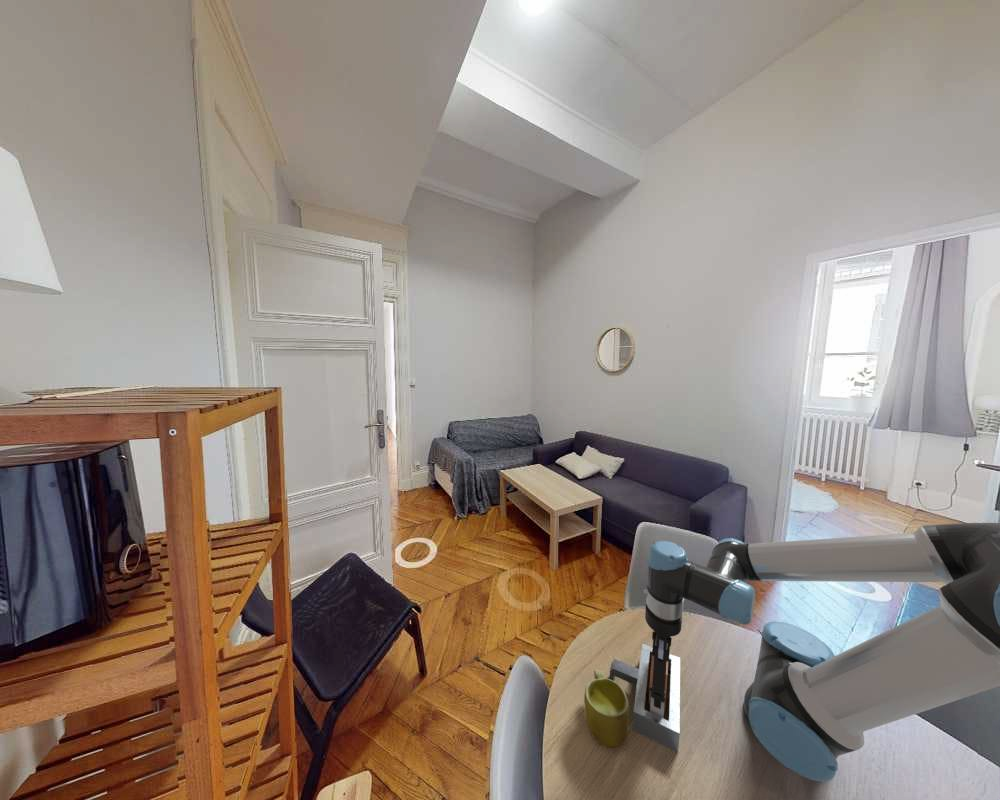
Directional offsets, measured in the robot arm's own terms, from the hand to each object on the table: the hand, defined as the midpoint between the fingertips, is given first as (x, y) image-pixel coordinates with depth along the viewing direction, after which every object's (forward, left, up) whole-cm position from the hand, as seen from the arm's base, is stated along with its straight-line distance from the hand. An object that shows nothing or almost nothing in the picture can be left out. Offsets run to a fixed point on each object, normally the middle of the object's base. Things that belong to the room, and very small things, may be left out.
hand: (658, 687), depth 79 cm
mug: (+11, +10, -4) cm, 15 cm away
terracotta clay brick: (0, 0, -4) cm, 4 cm away
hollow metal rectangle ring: (+3, 0, -4) cm, 5 cm away
